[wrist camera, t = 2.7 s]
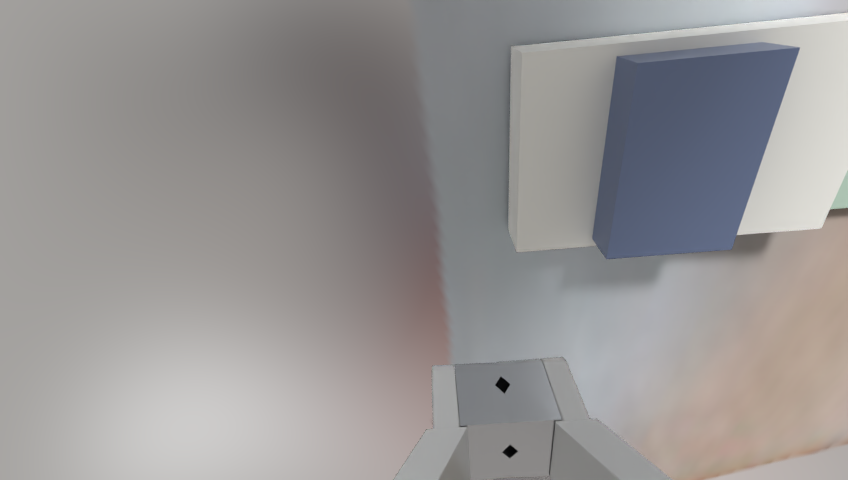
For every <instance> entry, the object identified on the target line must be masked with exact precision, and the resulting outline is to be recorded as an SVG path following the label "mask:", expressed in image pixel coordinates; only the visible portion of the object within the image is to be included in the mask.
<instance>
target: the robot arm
mask: <svg viewBox="0 0 848 480" xmlns="http://www.w3.org/2000/svg"><path fill="white" fill-rule="evenodd" d="M432 408H433V429H426V431H425V432H424V434H423V435H422V437H421V438H420V440H419V441H418V443H417V444H416V446H415V447H414V449H413V450H412V452H411V454H410V455H409V457H408V458H407V460H406V461H405V463H404V464H403V466H402V467H401V469H400V470H399V472H398V473H397V475H396V477H395V478H394V479H393V480H487V479H499V478H513V477H548V476H550V480H672V479H671V478H670V477H669V476H667V475H666V474H665V473H664V472H662V471H661V470H660V469H659V468H657V467H656V466H655V465H654V464H652V463H651V462H650V461H649V460H648V459H646V458H645V457H644V456H643V455H641V454H640V453H639V452H638V451H636V450H635V449H634V448H633V447H632V446H630V445H629V444H628V443H627V442H625V441H624V440H623V439H622V438H620V437H619V436H618V435H617V434H615V433H614V432H613V431H612V430H611V429H609V428H608V427H607V426H606V425H604V424H603V423H602V422H601V421H599V420H598V419H590V418H589V415H588V413H587V410H586V408H585V405H584V403H583V401H582V398H581V396H580V393H579V391H578V388H577V386H576V384H575V381H574V379H573V376H572V374H571V371H570V369H569V367H568V364H567V362H566V360H565V359H564V358H563V357H556V358H543V359H528V360H516V361H503V362H497V363H474V364H455V369H454V365H437V366H432Z"/></svg>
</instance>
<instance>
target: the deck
mask: <svg viewBox="0 0 848 480" xmlns="http://www.w3.org/2000/svg"><path fill="white" fill-rule="evenodd" d="M758 42H766V43H773V44H780V45H787V46H794V47H800V50H799V53H798V56H797V59H796V62H795V64H794V67H793V70H792V73H791V76H790V79H789V82H788V85H787V88H786V91H785V94H784V97H783V100H782V103H781V106H780V109H779V111H778V114H777V117H776V120H775V123H774V126H773V129H772V132H771V135H770V138H769V141H768V144H767V147H766V150H765V153H764V156H763V159H762V161H761V164H760V167H759V170H758V173H757V176H756V179H755V182H754V185H753V188H752V191H751V194H750V197H749V200H748V203H747V206H746V209H745V211H744V214H743V217H742V220H741V223H740V226H739V229H738V232H737V235H744V234H757V233H769V232H782V231H795V230H808V229H820V228H822V226H823V223H824V221H825V219H826V217H827V215H828V212H829V210H830V208H831V206H832V204H833V201H834V199H835V197H836V195H837V193H838V190H839V188H840V186H841V184H842V182H843V179H844V177H845V175H846V173H847V171H848V13H842V14H832V15H821V16H811V17H801V18H791V19H781V20H771V21H761V22H751V23H741V24H731V25H721V26H711V27H701V28H691V29H681V30H671V31H661V32H650V33H640V34H630V35H620V36H610V37H600V38H590V39H580V40H570V41H560V42H550V43H540V44H530V45H520V46H511V81H510V148H509V214H508V231H509V233H510V236H511V239H512V241H513V244H514V247H515V250H516V252H528V251H541V250H553V249H566V248H579V247H592V246H597V245H596V244H595V242H594V241H593V239H592V235H593V228H594V221H595V213H596V206H597V198H598V191H599V184H600V176H601V169H602V161H603V154H604V147H605V139H606V132H607V124H608V117H609V110H610V102H611V95H612V87H613V80H614V73H615V65H616V58H617V56H625V55H635V54H645V53H655V52H666V51H676V50H686V49H696V48H707V47H717V46H727V45H738V44H748V43H758Z"/></svg>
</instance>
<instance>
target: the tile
mask: <svg viewBox="0 0 848 480" xmlns="http://www.w3.org/2000/svg"><path fill="white" fill-rule="evenodd" d="M799 50H800V47H794V46H787V45H780V44H773V43H766V42H758V43H748V44H738V45H727V46H717V47H707V48H696V49H686V50H676V51H666V52H655V53H645V54H635V55H625V56H617V58H616V65H615V73H614V80H613V87H612V95H611V102H610V110H609V117H608V124H607V132H606V139H605V147H604V154H603V161H602V169H601V176H600V184H599V191H598V198H597V206H596V213H595V221H594V228H593V235H592V239H593V241H594V242H595V244H596V245H597V246H598V248H599V249H600V251H601V252H602V254H603V255H604V256H605V258H606V259H616V258H629V257H642V256H655V255H667V254H680V253H693V252H706V251H719V250H732V247H733V244H734V241H735V238H736V235H737V232H738V229H739V226H740V223H741V220H742V217H743V214H744V211H745V209H746V206H747V203H748V200H749V197H750V194H751V191H752V188H753V185H754V182H755V179H756V176H757V173H758V170H759V167H760V164H761V161H762V159H763V156H764V153H765V150H766V147H767V144H768V141H769V138H770V135H771V132H772V129H773V126H774V123H775V120H776V117H777V114H778V111H779V109H780V106H781V103H782V100H783V97H784V94H785V91H786V88H787V85H788V82H789V79H790V76H791V73H792V70H793V67H794V64H795V62H796V59H797V56H798V53H799Z"/></svg>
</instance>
